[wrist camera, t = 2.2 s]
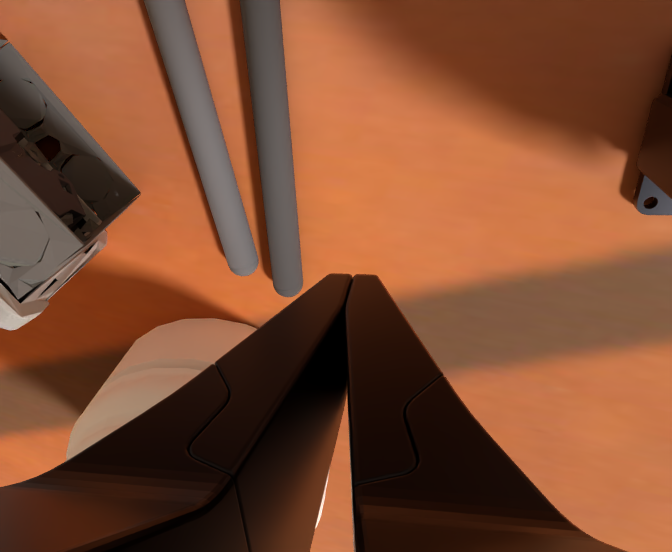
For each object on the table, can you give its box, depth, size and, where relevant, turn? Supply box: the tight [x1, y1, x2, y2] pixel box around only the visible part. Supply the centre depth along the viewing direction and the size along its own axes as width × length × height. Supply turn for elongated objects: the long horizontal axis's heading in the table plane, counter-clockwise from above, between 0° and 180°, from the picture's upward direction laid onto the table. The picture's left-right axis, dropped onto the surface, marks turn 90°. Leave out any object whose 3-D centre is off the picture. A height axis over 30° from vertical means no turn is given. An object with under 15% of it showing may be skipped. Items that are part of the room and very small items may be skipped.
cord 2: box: [240, 0, 303, 297], centre depth 21 cm, size 1×16×1 cm, turn 2°
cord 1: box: [144, 0, 258, 276], centre depth 21 cm, size 1×15×1 cm, turn 11°
